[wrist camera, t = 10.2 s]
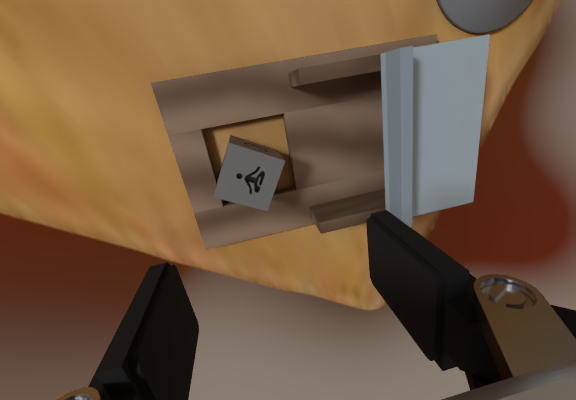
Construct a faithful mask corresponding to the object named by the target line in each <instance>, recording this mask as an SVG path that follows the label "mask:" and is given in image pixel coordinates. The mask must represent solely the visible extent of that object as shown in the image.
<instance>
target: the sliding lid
mask: <svg viewBox="0 0 576 400" xmlns="http://www.w3.org/2000/svg"><path fill="white" fill-rule="evenodd" d="M489 40H490V34H488V35H483V36H477V37H471V38H465V39H460V40H454V41H448V42H442V43H437V44H431V45H425V46H419V47H414V48H413V46H409V47H403V48H398V49H395V50H392V51H389V52H385V53H382V54H380V56H381V86H382V115H383V145H384V174H385V204H386V210H387V211H389V212H390V213H392V214H393V215H394V216H396V217H397V218H398V219H400V220H401V221H402V222H404V223H405V224H406V225H408V226H409V227H410V228H412V217H414V216H418V215H422V214H426V213H430V212H434V211H438V210H442V209H446V208H450V207H454V206H458V205H462V204H467V203H471V202H473V199H474V190H475V180H476V170H477V160H478V150H479V140H480V130H481V120H482V110H483V100H484V90H485V80H486V70H487V60H488V50H489Z"/></svg>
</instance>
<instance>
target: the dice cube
mask: <svg viewBox="0 0 576 400" xmlns="http://www.w3.org/2000/svg"><path fill="white" fill-rule="evenodd" d="M284 163H285V160H284V158H283V157H282V156H281V155H280V153H279V152H278V151H277V150H274V149H271V148H268V147H265V146H261V145H258V144H255V143H252V142H249V141H246V140H243V139H240V138H237V137H234V136H231V135H230V138H229V142H228V145H227V149H226V153H225V156H224V160H223V163H222V167H221V170H220V174H219V177H218V181H217V185H216V189H215V194H214V198H218V199H222V200H226V201H229V202H233V203H237V204H241V205H245V206H249V207H252V208H256V209H260V210H264V211H268V209H269V206H270V203H271V200H272V197H273V195H274V192H275V189H276V186H277V183H278V180H279V177H280V175H281V172H282V169H283V166H284Z"/></svg>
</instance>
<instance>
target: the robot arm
mask: <svg viewBox="0 0 576 400" xmlns="http://www.w3.org/2000/svg"><path fill="white" fill-rule="evenodd" d="M366 223H367V239H368V254H369V270H370V278H371V281H372V283H373V285H374V287H375V288H376V289H377V291H378V292H379V293H380V295H381V296H382V297H383V299H384V300H385V301H386V303H387V304H388V306H389V307H390V308H391V310H392V311H393V312H394V314H395V315H396V316H397V318H398V319H399V320H400V322H401V323H402V324H403V326H404V327H405V328H406V330H407V331H408V333H409V334H410V335H411V336H412V338H413V339H414V341H415V342H416V344H417V345H418V346H419V348H420V349H421V350H422V352H423V353H424V354H425V356H426V357H427V358H428V359H429V360H430V361H433V360H435V362H436V363H437V364H438V366H439V367H440V368H441V369H442V371H445V370H448V369H451V368H454V367H458V368H459V369H460V370H462V371H464V372H465V374H466V378H467V381H468V384H469V388H470V391H467V392H464V393H461V394H458V395H455V396H452V397H449V398H445V399H442V400H576V311H575V310H571V309H567V308H562V307H557V306H554V305H550V304H549V303H548V301H547V300H546V299H545V297H544V296H543V295H542V294H541V293H540V292H539V291H538V290H537V289H536V288H535V287H533V286H532V285H530V284H529V283H527V282H525V281H522V280H520V279H518V278H514V277H510V276H507V275H499V274H489V275H484V276H481V277H479V278H478V279H476V278H475V277H473V276H472V275H471V274H470V273H469V270H467V269H466V268H464V267H463V266H462V265H460V264H459V263H458V262H456V261H455V260H454V259H452V258H451V257H450V256H448V255H447V254H446V253H444V252H443V251H442V250H440V249H439V248H438V247H436V246H435V245H433V244H432V243H431V242H429V241H428V240H427V239H425V238H424V237H423V236H421V235H420V234H419V233H417V232H416V231H415V230H413V229H412V228H410V227H409V226H408V225H406V224H405V223H404V222H402V221H401V220H400V219H398V218H397V217H396V216H394V215H393V214H392V213H390V212H389V211H387V210H383V211H379V212H375V213H371V215H370V218H367V221H366ZM198 334H199V325H198V321H197V319H196V316H195V313H194V311H193V308H192V306H191V303H190V301H189V298H188V296H187V293H186V290H185V288H184V285H183V283H182V280H181V278H180V275H179V273H178V270H177V268H176V266H175V265H172V266H171V265H170V264H169V263H168V262H167V263H163V264H159V265H155V266H151V267H150V268H149V269H148V271H147V273H146V275H145V277H144V279H143V281H142V283H141V285H140V287H139V289H138V291H137V293H136V295H135V297H134V299H133V301H132V303H131V304H130V306H129V309H128V310H127V312H126V314H125V316H124V318H123V320H122V322H121V324H120V325H119V328H118V329H117V332H116V333H115V335H114V337H113V339H112V341H111V343H110V345H109V347H108V349H107V351H106V353H105V355H104V357H103V359H102V361H101V363H100V365H99V367H98V369H97V371H96V372H95V375H94V376H93V378H92V381H91V382H90V385H89V386H88V387H83V388H79V389H76V390H73V391H71V392H69V393H67V394H65V395H63V396H62V397H60V398H59V399H57V400H188V397H189V391H190V384H191V378H192V372H193V365H194V359H195V353H196V346H197V340H198Z"/></svg>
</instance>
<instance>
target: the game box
mask: <svg viewBox="0 0 576 400" xmlns="http://www.w3.org/2000/svg"><path fill="white" fill-rule="evenodd" d="M431 44H437V34H436V35H430V36H424V37H418V38H412V39H407V40H401V41H395V42H389V43H383V44H377V45H371V46H365V47H360V48H354V49H348V50H342V51H336V52H330V53H324V54H319V55H313V56H307V57H301V58H295V59H289V60H283V61H277V62H272V63H266V64H260V65H254V66H248V67H242V68H236V69H231V70H225V71H219V72H213V73H207V74H201V75H195V76H190V77H184V78H178V79H172V80H166V81H160V82H154V83H151V85H152V88H153V91H154V94H155V97H156V100H157V103H158V106H159V109H160V112H161V115H162V118H163V121H164V124H165V127H166V130H167V133H168V136H169V139H170V142H171V145H172V148H173V151H174V154H175V157H176V160H177V163H178V166H179V169H180V172H181V175H182V178H183V181H184V184H185V187H186V190H187V193H188V197H189V200H190V203H191V206H192V209H193V212H194V215H195V218H196V221H197V224H198V227H199V230H200V233H201V236H202V239H203V242H204V245H205V248H206V250H207V249H211V248H215V247H220V246H224V245H228V244H232V243H236V242H241V241H245V240H249V239H253V238H257V237H261V236H266V235H270V234H274V233H278V232H282V231H287V230H291V229H295V228H299V227H303V226H308V225H312V224H315V225H316V226H317V228H318V229H319V231H320V233H321V234H322V233H326V232H330V231H334V230H338V229H342V228H346V227H350V226H355V225H359V224H363V223H366V221H367V218H370V215H371V213H375V212H379V211H383V210H386V204H385V174H384V145H383V115H382V86H381V56H380V54H382V53H385V52H389V51H392V50H395V49H398V48H403V47H409V46H413V48H414V47H419V46H425V45H431ZM278 114H283V119H284V125H285V131H286V137H287V143H288V149H289V155H290V161H291V167H292V173H293V178H294V184H295V187H294V188H289V189H285V190H280V191H276V192H274V195H273V197H272V200H271V203H270V206H269V209H268V211H264V210H260V209H256V208H252V207H249V206H245V205H241V204H237V203H233V202H226V203H223V200H222V199H218V198H214V194H215V189H216V185H217V179H216V176H215V172H214V168H213V165H212V161H211V158H210V154H209V151H208V147H207V144H206V140H205V137H204V133H203V129H205V128H210V127H215V126H220V125H226V124H231V123H236V122H241V121H246V120H252V119H257V118H262V117H267V116H273V115H278Z"/></svg>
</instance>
